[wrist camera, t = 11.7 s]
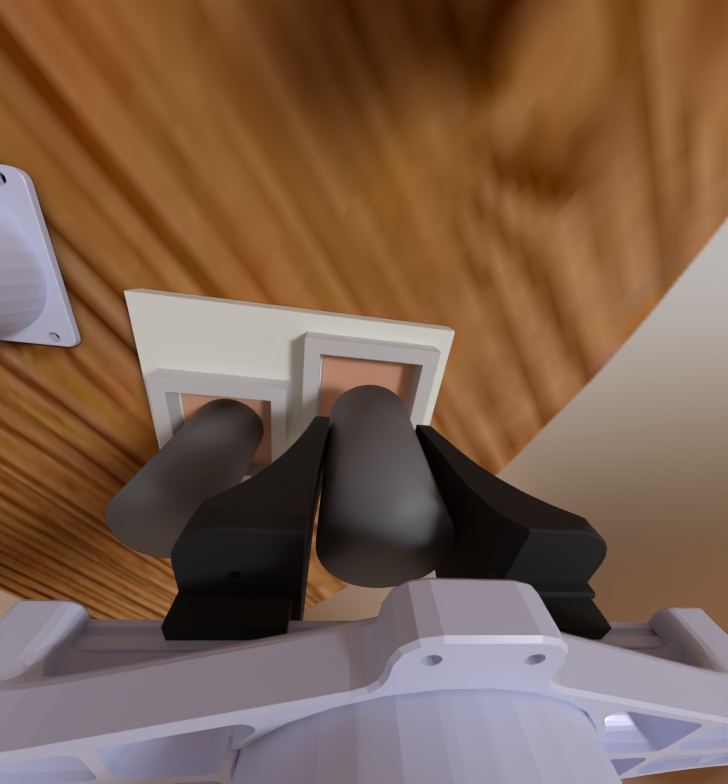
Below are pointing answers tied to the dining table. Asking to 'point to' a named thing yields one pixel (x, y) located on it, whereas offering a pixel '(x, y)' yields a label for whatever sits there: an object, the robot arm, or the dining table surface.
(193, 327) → the board
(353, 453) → the peg
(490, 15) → the dining table surface
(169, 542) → the peg
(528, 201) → the dining table surface
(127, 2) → the dining table surface
